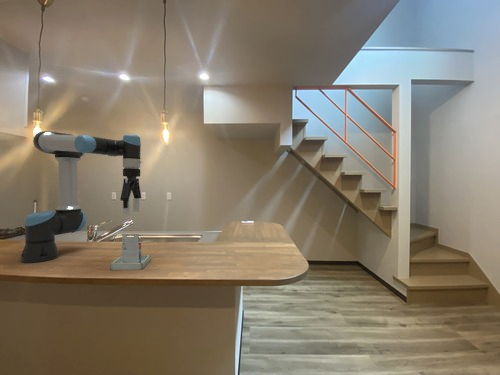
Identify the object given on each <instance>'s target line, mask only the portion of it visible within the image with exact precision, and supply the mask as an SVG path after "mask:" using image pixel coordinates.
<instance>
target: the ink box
mask: <svg viewBox="0 0 500 375" xmlns="http://www.w3.org/2000/svg"><path fill="white" fill-rule="evenodd" d="M130 236H131V237H130ZM139 236H140V234H139V233H122V236H121V238H122V240H121V243H122V244H121V256H122V263H141V255H142V242H140V241H139V240H140V239H139V238H140V237H139Z"/></svg>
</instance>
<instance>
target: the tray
mask: <svg viewBox="0 0 500 375" xmlns="http://www.w3.org/2000/svg"><path fill="white" fill-rule="evenodd" d="M150 262H151V254H150V255H149V254H147V255H142V254H141V263H122V255H120V256H118V258H116V259H115V260H113V261H112V262H111V263H110V264H109V270H110V271H130V270H131V271H134V270H135V271H136V270H138V271H140V270H141V271H143V269H144V268H146V266H147V265H149V263H150Z"/></svg>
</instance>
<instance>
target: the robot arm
mask: <svg viewBox="0 0 500 375" xmlns="http://www.w3.org/2000/svg"><path fill="white" fill-rule="evenodd" d="M32 143H33V146H34V147H35V148H36V150H38V151H40V152H41V153H43V154H49V155H54V159H55V160H56V161H57V162H58V163H57V164H58V165H57V166H58V169H57V171H58V173H57V174H58V206H57V207H56V208H55V211H54V210H44V211H42V210H41V211H38V212H37V211H36V212H32V213H29V214H28V215H26V216H25V221H24V232H25V233H24V237H25V242H24V244H25V245H24V248H23V250H22V253H21V255H20V262H21V263H29V264H32V263H41V262H47V261H51V260H55V259H57V258H59V257H60V251H59V249H58V247H57V244H56V242H55V241H56V240H55V239H56V238H55V236H58V235H59V236H60V235H64V234H73V233H77V232H80V231H81V230H83V229H84V227H85V226H86V223H87V215H86V213H85V211H83V210H82V207H81V206H80V205H79V203H78V202H79V201H78V200H79V198H78V196H79V194H78V190H79V189H78V162H79V161H80V160H81V157H83V156H84V155H85V154H94V155H101V156H102V155H104V156H108V157H122V167H123V169H122V177H126V178H123V183H122V189H121V195H120V201H121V202H122V216H130V214H131V207H130V206H131V204H130V196H131V194H132V196H133V200H132V206H133V207H132V208H133V209H132V212H135V213H136V212H140V199H142V194H141V193H142V192H141V187H140V179H139V178H140V177H141V169H140V168H141V164H142V161H141V146H142V144H141V137H140V135H137V134H129V133H128V134H123V136H122V139H111V138H110V139H109V138H106V137H105V138H104V137H99V136H92V135H88V134H79V135H75V134H71V133H63V132H59V131H58V132H56V131H51V130H46V131H45V130H44V131H43V130H42V131H40V132H38V133H36V134H35V135H34V137H33V140H32ZM137 177H139V178H137Z"/></svg>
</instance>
